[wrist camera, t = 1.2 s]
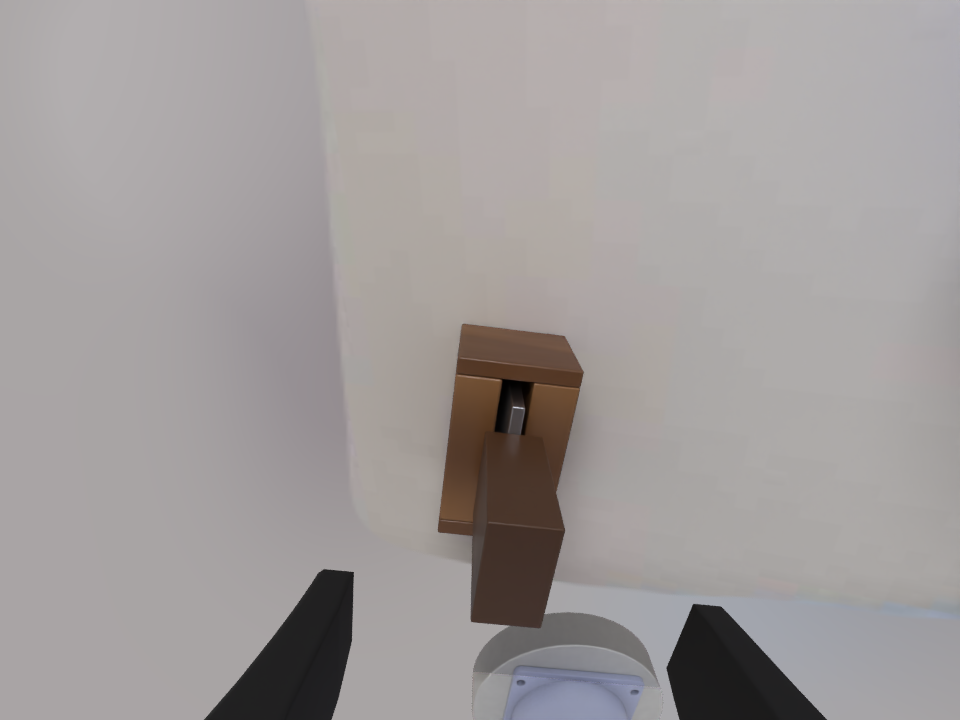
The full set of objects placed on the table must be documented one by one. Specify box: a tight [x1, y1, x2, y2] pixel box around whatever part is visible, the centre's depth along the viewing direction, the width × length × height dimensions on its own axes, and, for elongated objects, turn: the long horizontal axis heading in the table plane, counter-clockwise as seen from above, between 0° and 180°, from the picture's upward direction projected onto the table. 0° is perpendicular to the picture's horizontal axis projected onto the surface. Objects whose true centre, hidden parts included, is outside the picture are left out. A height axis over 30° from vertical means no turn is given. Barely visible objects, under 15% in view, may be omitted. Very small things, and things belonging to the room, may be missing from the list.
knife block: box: [438, 324, 584, 536], centre depth 17 cm, size 7×4×4 cm, turn 173°
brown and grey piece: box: [471, 379, 565, 628], centre depth 15 cm, size 5×2×8 cm, turn 173°
